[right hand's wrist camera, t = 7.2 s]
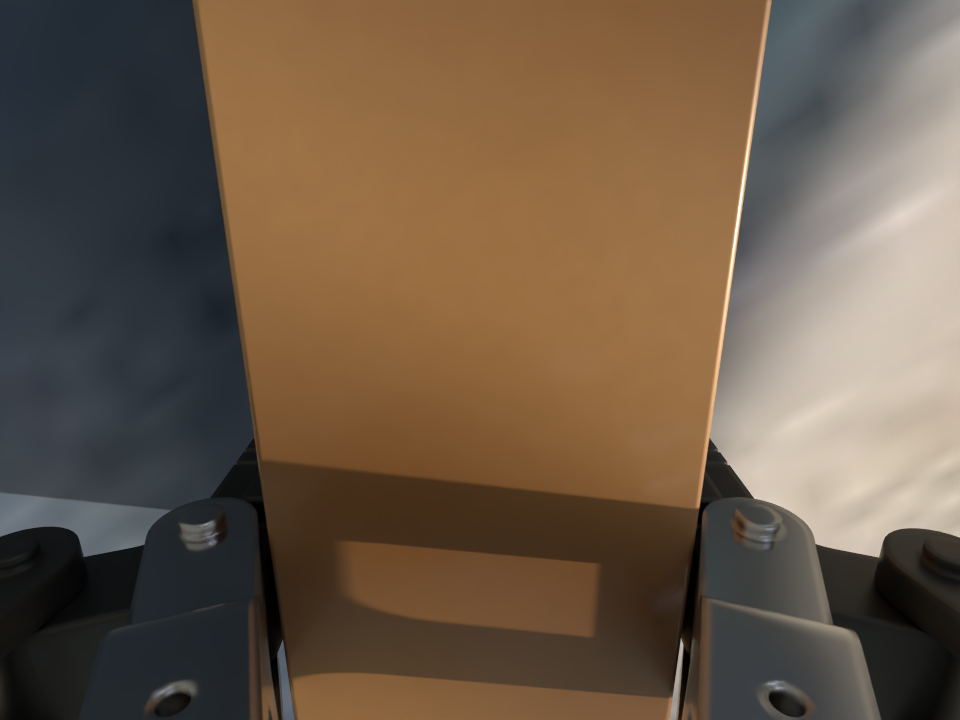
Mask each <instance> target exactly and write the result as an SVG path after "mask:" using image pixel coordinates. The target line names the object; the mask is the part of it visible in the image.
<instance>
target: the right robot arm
mask: <svg viewBox="0 0 960 720" xmlns="http://www.w3.org/2000/svg"><path fill="white" fill-rule="evenodd" d="M681 639H682V642H683V644H684V645H683V652H682V659H681V666H680V676H679V689H678V701H677V714H676V720H960V538H959V537H956V536H953V535H950V534H946V533H942V532H938V531H933V530H927V529H916V528H908V529H900V530H896V531H893V532H891V533H889V534H888V535H887V536H886V537H885V539H884V541H883V545H882V549H881V552H880V556H879V558H878V557H873V556H867V555H862V554H857V553H852V552H847V551H842V550H836V549H832V548H827V547H823V546H820V545H817V544H815V540H814V536H813V533H812V531H811V529H810V528H809V527H808V525H807V524H806V523H805V522H804V521H803V520H802V519H800V518H799V517H798V516H796V515H795V514H793V513H792V512H790V511H788V510H786V509H784V508H782V507H780V506H777V505H775V504H772V503H769V502H765V501H762V500H757V499H754V498H753V496H752V495H751V494H750V492H749V491H748V490H747V488H746V487H745V486H744V484H743V483H742V481H741V480H740V479H739V477H738V476H737V475H736V473H735V472H734V471H733V469H732V468H731V467H730V465H727V461H726V460H725V458H724V457H723V456H722V454H721V453H720V452H718V449H717V448H716V446H715V445H714V444H713V442H712V441H711V439H710V438H709V444H708V451H707V458H706V465H705V472H704V479H703V486H702V493H701V500H700V507H699V514H698V521H697V528H696V535H695V542H694V549H693V556H692V563H691V570H690V577H689V584H688V591H687V598H686V605H685V612H684V619H683V626H682V633H681ZM282 640H283V635H282V628H281V621H280V614H279V607H278V600H277V593H276V586H275V579H274V572H273V565H272V558H271V551H270V544H269V536H268V529H267V522H266V515H265V508H264V501H263V494H262V487H261V480H260V473H259V466H258V459H257V452H256V445H255V438H254V439H253V440H252V442H251V443H250V444H249V446H248V447H247V448H246V452H244V453H243V454H242V455H241V457H240V458H239V459H238V461H237V465H234V466H233V468H232V469H231V470H230V472H229V473H228V474H227V476H226V477H225V479H224V480H223V481H222V483H221V484H220V485H219V487H218V488H217V490H216V491H215V492H214V494H213V495H212V496H211V498H209V499H203V500H198V501H195V502H191V503H188V504H185V505H183V506H180V507H178V508H176V509H174V510H172V511H170V512H168V513H167V514H165V515H164V516H162V517H161V518H160V519H158V520H157V521H156V522H155V523H154V524H153V525H152V527H151V528H150V530H149V531H148V533H147V536H146V540H145V545H142V546H138V547H133V548H129V549H124V550H118V551H113V552H108V553H103V554H98V555H93V556H87V557H84V556H83V553H82V549H81V545H80V541H79V538H78V536H77V535H76V534H75V533H74V532H73V531H71V530H69V529H65V528H61V527H38V528H31V529H26V530H21V531H18V532H14V533H10V534H7V535H4V536H1V537H0V720H284V714H283V701H282V689H281V676H280V666H279V659H278V650H279V648H280V645H281V643H282Z"/></svg>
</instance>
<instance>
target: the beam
mask: <svg viewBox="0 0 960 720" xmlns="http://www.w3.org/2000/svg"><path fill="white" fill-rule="evenodd" d="M771 1H772V0H192V3H193V10H194V17H195V24H196V31H197V38H198V45H199V52H200V59H201V66H202V73H203V80H204V87H205V94H206V101H207V108H208V115H209V122H210V129H211V136H212V143H213V150H214V157H215V164H216V171H217V178H218V185H219V192H220V199H221V206H222V213H223V220H224V227H225V235H226V242H227V249H228V256H229V263H230V270H231V277H232V284H233V291H234V298H235V305H236V312H237V319H238V326H239V333H240V340H241V347H242V354H243V361H244V368H245V375H246V382H247V389H248V396H249V403H250V410H251V417H252V424H253V431H254V438H255V445H256V452H257V459H258V466H259V473H260V480H261V487H262V494H263V501H264V508H265V515H266V522H267V529H268V536H269V544H270V551H271V558H272V565H273V572H274V579H275V586H276V593H277V600H278V607H279V614H280V621H281V628H282V635H283V642H284V649H285V656H286V663H287V670H288V677H289V684H290V691H291V698H292V705H293V712H294V719H295V720H669V718H670V711H671V704H672V697H673V690H674V683H675V676H676V669H677V661H678V654H679V647H680V640H681V633H682V626H683V619H684V612H685V605H686V598H687V591H688V584H689V577H690V570H691V563H692V556H693V549H694V542H695V535H696V528H697V521H698V514H699V507H700V500H701V493H702V486H703V479H704V472H705V465H706V458H707V451H708V444H709V437H710V430H711V423H712V416H713V409H714V402H715V395H716V388H717V381H718V374H719V366H720V359H721V352H722V345H723V338H724V331H725V324H726V317H727V310H728V303H729V296H730V289H731V282H732V275H733V268H734V261H735V254H736V247H737V240H738V233H739V226H740V219H741V212H742V205H743V198H744V191H745V184H746V177H747V170H748V163H749V156H750V149H751V142H752V135H753V128H754V121H755V114H756V107H757V100H758V93H759V86H760V78H761V71H762V64H763V57H764V50H765V43H766V36H767V29H768V22H769V15H770V8H771Z"/></svg>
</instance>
